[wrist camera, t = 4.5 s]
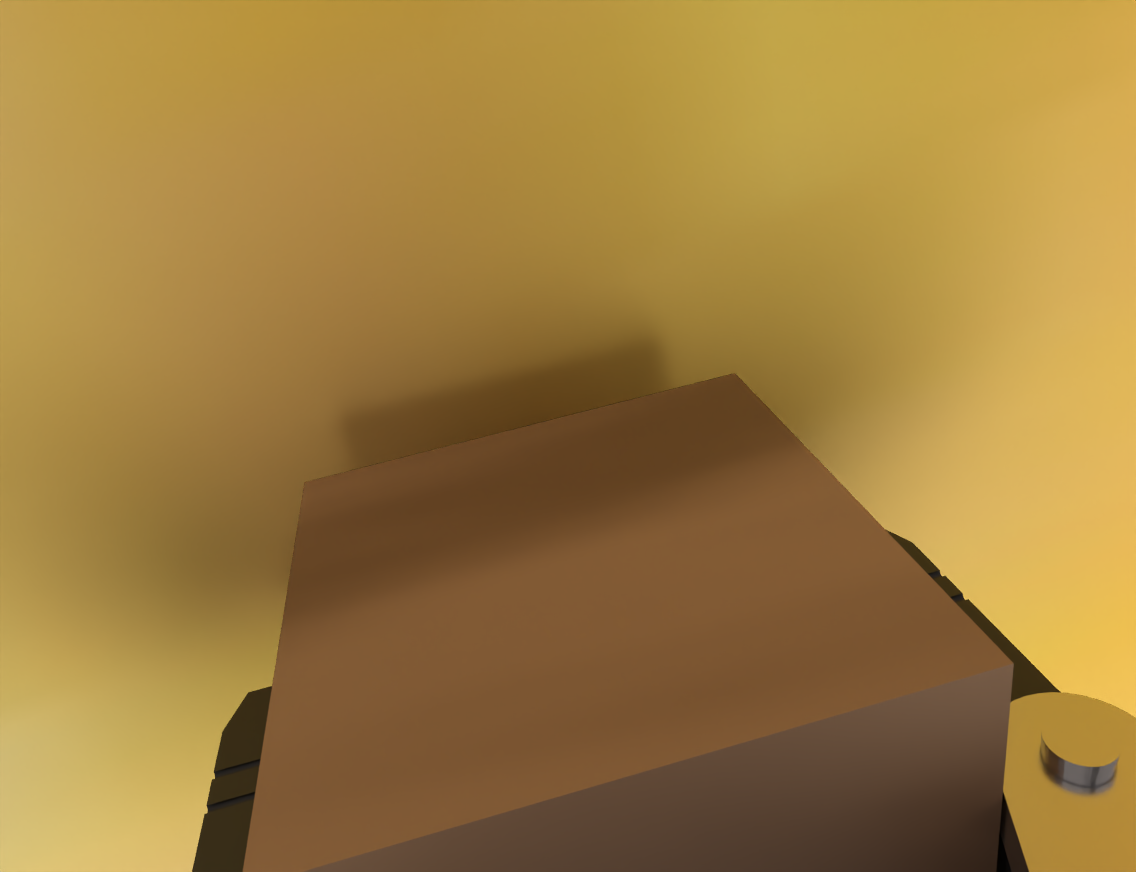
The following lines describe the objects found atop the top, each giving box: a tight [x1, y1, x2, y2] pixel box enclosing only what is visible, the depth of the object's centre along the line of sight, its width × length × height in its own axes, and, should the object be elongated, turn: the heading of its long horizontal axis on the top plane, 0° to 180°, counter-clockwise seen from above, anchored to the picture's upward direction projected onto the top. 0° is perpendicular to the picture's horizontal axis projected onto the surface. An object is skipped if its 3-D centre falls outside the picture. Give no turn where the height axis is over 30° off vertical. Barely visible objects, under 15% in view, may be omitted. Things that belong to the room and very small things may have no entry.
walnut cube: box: [243, 373, 1014, 872], centre depth 9 cm, size 5×5×5 cm
